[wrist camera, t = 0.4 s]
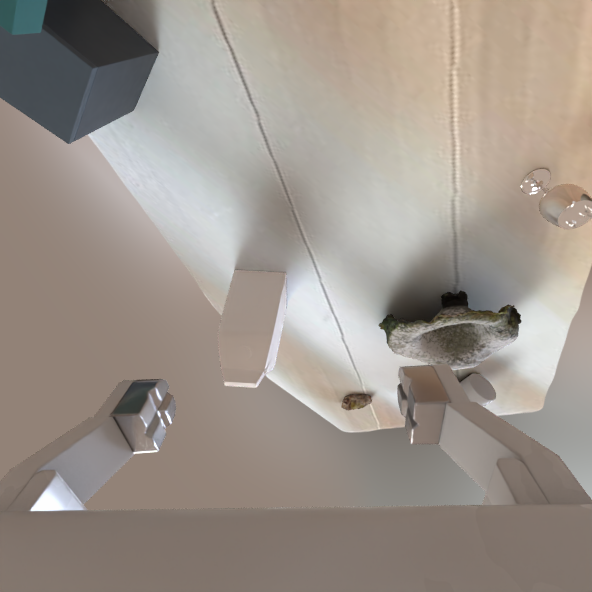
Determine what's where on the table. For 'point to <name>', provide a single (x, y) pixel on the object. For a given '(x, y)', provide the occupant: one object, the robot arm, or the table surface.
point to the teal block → (22, 16)
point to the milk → (251, 326)
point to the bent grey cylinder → (478, 389)
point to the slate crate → (75, 68)
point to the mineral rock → (356, 401)
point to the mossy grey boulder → (453, 333)
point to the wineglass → (559, 200)
